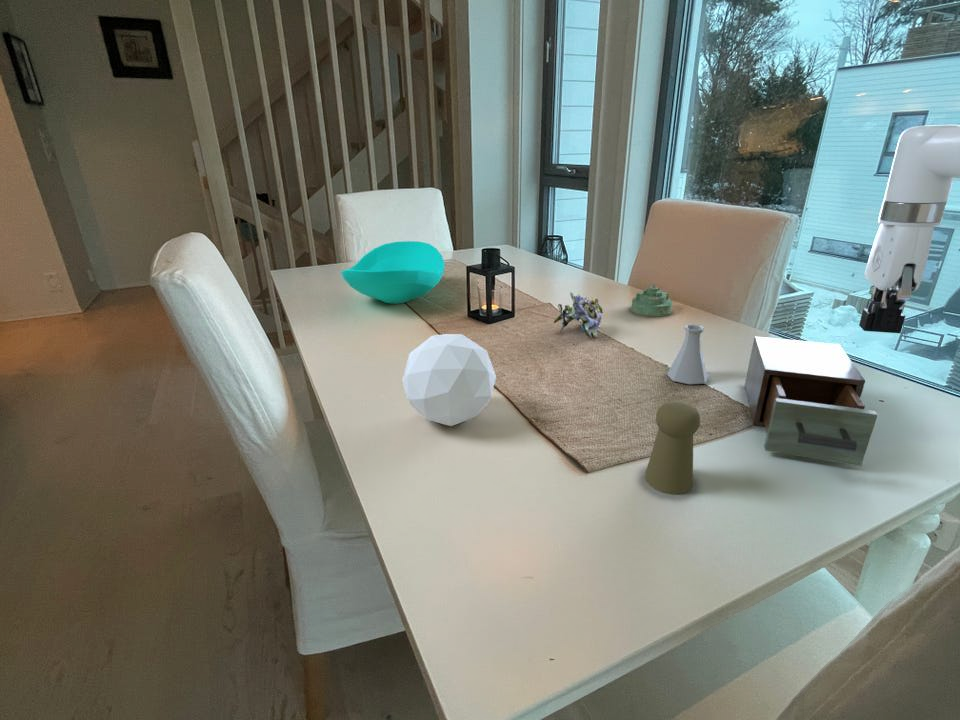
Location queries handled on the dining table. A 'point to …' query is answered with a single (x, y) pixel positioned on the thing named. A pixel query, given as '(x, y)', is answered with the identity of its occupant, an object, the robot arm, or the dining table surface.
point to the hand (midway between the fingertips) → (880, 326)
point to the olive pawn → (673, 448)
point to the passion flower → (582, 314)
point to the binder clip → (869, 317)
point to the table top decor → (397, 271)
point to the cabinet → (795, 367)
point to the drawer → (816, 420)
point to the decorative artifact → (652, 302)
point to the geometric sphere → (449, 379)
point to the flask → (690, 359)
